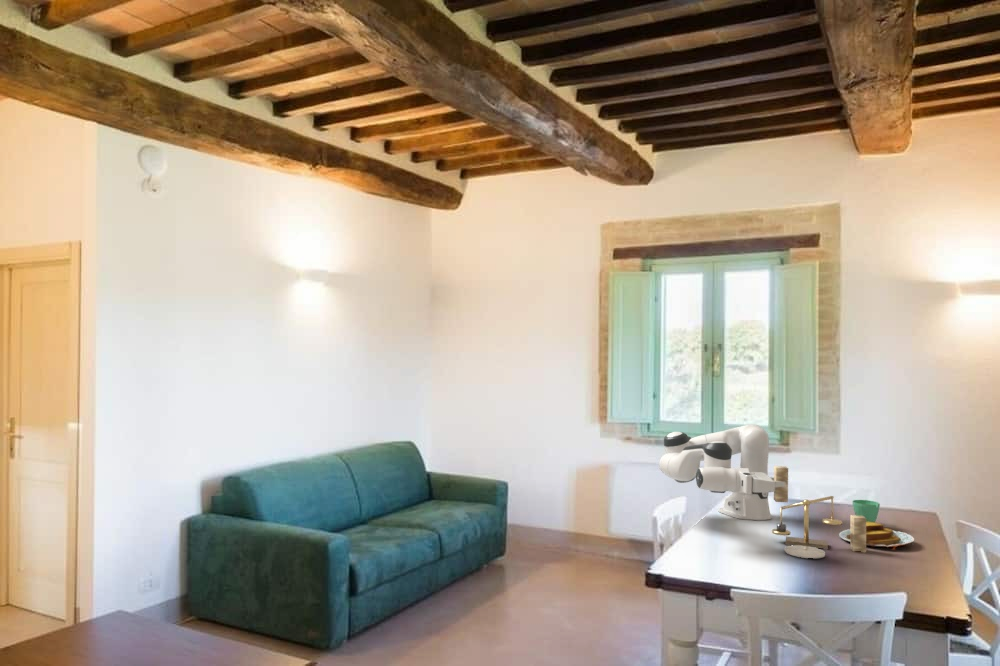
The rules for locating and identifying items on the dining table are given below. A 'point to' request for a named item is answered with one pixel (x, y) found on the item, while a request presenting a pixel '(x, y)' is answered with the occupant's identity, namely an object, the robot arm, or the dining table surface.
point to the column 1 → (781, 492)
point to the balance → (806, 526)
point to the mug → (866, 509)
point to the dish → (804, 551)
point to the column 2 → (858, 533)
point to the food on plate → (881, 536)
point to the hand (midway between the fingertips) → (783, 482)
